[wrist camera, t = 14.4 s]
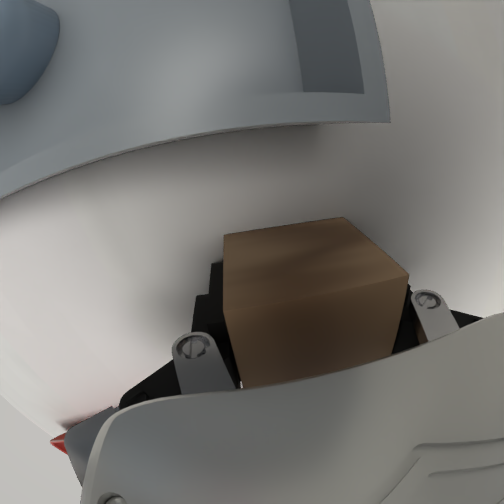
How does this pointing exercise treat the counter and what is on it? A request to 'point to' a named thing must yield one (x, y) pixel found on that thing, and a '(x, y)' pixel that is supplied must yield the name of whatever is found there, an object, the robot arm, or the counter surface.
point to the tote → (189, 77)
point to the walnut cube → (308, 300)
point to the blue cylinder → (24, 45)
